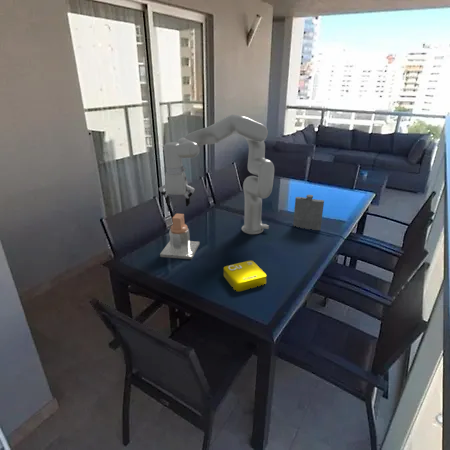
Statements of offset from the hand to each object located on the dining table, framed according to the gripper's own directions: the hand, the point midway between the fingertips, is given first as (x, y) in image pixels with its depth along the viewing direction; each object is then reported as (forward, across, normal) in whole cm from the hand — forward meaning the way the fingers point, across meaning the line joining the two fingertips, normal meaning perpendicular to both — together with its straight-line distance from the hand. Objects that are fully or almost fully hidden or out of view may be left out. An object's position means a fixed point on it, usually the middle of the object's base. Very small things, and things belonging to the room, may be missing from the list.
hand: (178, 204), depth 154 cm
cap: (+16, +1, 0) cm, 16 cm away
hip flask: (+26, -64, -37) cm, 79 cm away
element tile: (+26, -35, +21) cm, 48 cm away
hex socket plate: (+25, +1, +1) cm, 25 cm away
